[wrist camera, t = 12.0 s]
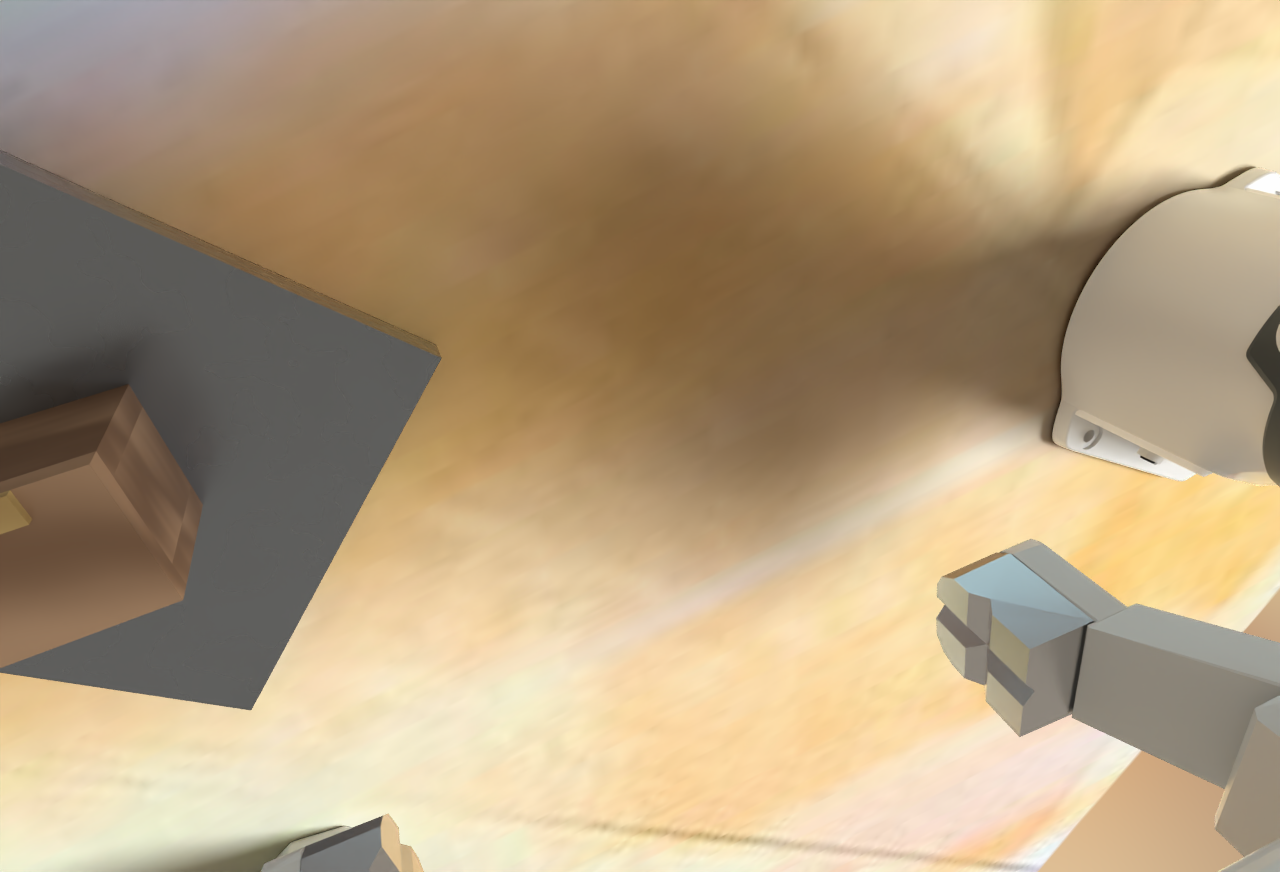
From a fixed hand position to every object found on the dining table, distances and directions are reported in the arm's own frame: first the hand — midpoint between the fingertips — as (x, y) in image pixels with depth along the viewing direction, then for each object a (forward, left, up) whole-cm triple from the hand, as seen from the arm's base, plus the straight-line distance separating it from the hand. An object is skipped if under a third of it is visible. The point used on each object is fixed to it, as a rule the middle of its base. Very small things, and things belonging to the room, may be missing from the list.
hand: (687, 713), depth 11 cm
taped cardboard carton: (+8, +12, -22) cm, 26 cm away
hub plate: (+8, +12, -23) cm, 27 cm away
